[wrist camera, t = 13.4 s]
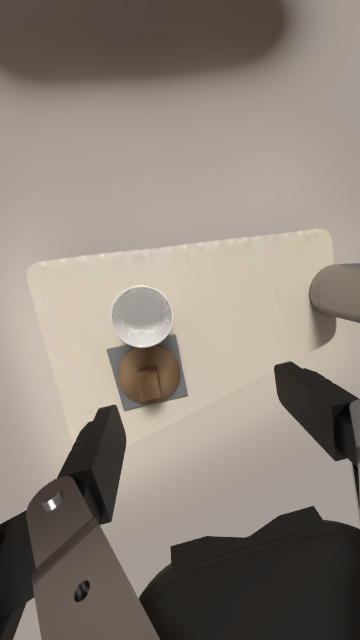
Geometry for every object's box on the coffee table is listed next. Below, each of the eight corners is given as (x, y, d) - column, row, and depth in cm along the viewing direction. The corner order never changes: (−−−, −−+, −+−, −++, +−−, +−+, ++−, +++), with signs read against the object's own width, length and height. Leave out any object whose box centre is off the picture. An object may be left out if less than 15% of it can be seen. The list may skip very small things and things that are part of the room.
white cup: (177, 312, 38) (185, 326, 28) (139, 337, 38) (133, 359, 28) (152, 273, 36) (151, 273, 26) (112, 298, 36) (96, 308, 26)
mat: (175, 334, 38) (175, 335, 38) (187, 394, 41) (187, 395, 41) (107, 349, 37) (106, 349, 37) (124, 409, 40) (124, 410, 40)
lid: (173, 338, 38) (177, 349, 32) (184, 393, 40) (190, 412, 35) (111, 351, 37) (103, 365, 32) (126, 407, 40) (121, 429, 34)
